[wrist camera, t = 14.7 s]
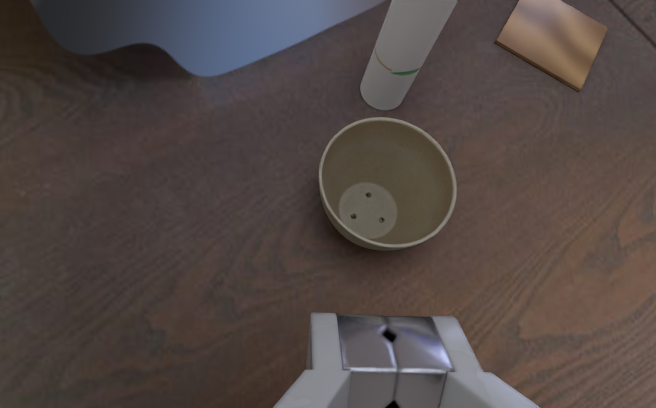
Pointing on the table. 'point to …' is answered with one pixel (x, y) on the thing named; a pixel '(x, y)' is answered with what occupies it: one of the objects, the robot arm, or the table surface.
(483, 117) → the table surface
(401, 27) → the tube
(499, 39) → the shiny brown rectangular coaster
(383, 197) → the flower pot
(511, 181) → the table surface
